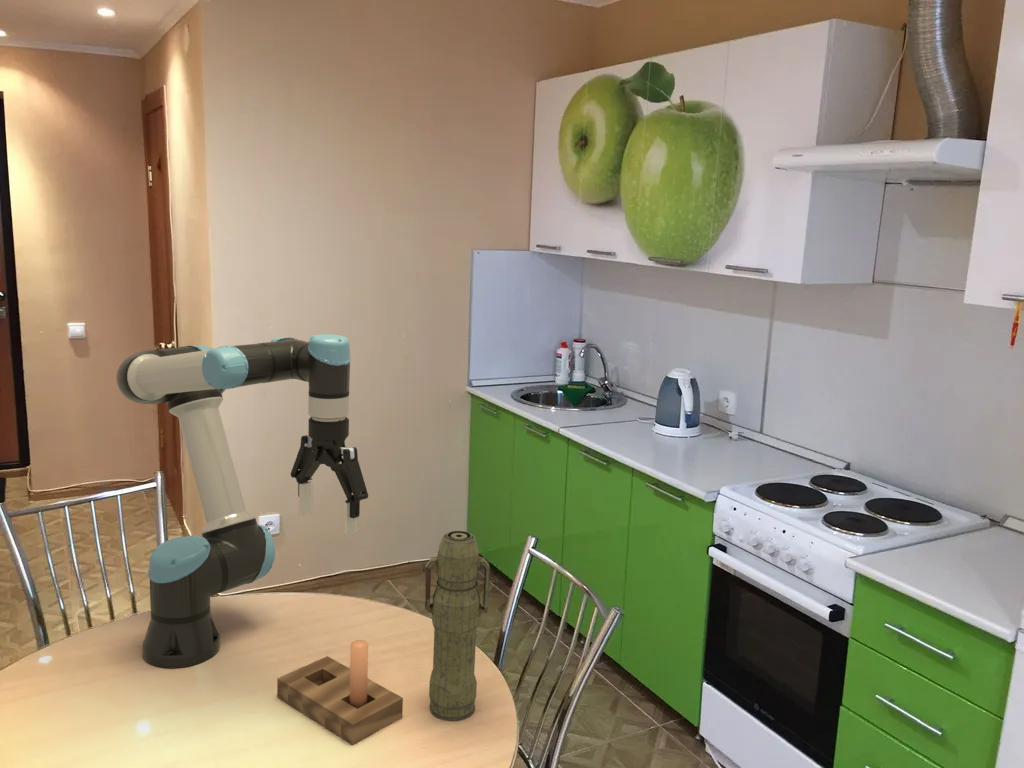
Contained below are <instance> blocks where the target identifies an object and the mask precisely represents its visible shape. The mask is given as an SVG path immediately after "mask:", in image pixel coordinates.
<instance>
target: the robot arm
mask: <svg viewBox="0 0 1024 768" xmlns="http://www.w3.org/2000/svg"><path fill="white" fill-rule="evenodd" d="M350 346H351V345H350V341H349V339H348V338H347V337H346V336H344V335H340V334H332V333H322V334H321V333H320V334H314V335H311V336H310V338H309V339H308V341H305V340H302V339H301V340H300V339H298V338H295V337H290V336H289V337H282V336H279V337H276V338H273V339H272V340H271V341H268V342H261V343H258V342H257V343H252V344H251V343H250V344H241V345H240V344H238V345H224V346H218V347H216V348H215V347H214V348H211V347H210V346H208V345H193V344H192V345H191V344H190V345H186V346H179V347H178V346H176V347H168V348H159V349H148V350H142V351H139V352H135V353H133V354H131V355H129V356H127V357H126V358H125V359H124V360H123V361H122V362H121V363H120V365H119V366H118V368H117V371H116V386H117V387H118V390H119V391H120V393H121V395H123V396H124V397H125V398H126V399H128V400H129V401H131V402H134V403H135V404H141V405H142V404H143V405H157V404H163V403H166V404H167V405H166V406H167V408H168V412H169V414H171V415H173V416H174V417H177V419H178V421H179V425H180V429H181V433H182V437H183V440H184V443H185V448H186V452H187V455H188V459H189V463H190V467H191V469H192V474H193V477H194V478H193V479H194V480H195V481H194V482H195V485H196V488H197V493H198V496H199V500H200V503H201V507H202V511H203V516H204V518H205V522H206V523H205V526H204V527H203V529H202V531H201V535H194V534H193V535H187V536H177V537H174V538H171V539H168V540H165V541H164V542H162V543H160V544H159V545H157V546H156V547H155V548H154V549H153V550H152V552H151V554H150V556H149V565H148V571H147V573H148V578H149V599H150V600H149V601H150V605H149V606H150V621H149V624H148V626H147V631H146V632H145V637H144V640H143V642H142V657H143V659H144V661H146V662H147V664H148V663H149V664H150V665H152V666H155V667H160V668H166V669H168V668H170V669H172V668H173V669H174V668H175V669H176V668H186V667H190V666H194V665H198V664H200V663H203V662H205V661H208V660H210V659H211V658H212V657H214V656H215V655H216V654H217V653H218V651H220V647H221V646H220V645H221V644H220V643H221V641H220V632H219V631H218V628H217V625H216V623H215V620H214V618H213V615H212V612H211V597H212V596H215V595H217V594H222V593H224V592H226V591H229V590H232V589H235V588H236V589H237V588H239V587H241V586H244V585H249V584H252V583H254V582H255V581H257V580H259V579H263V578H264V577H266V575H268V574H269V573H270V572H271V570H272V568H273V564H274V562H275V557H276V547H275V546H276V545H275V541H274V538H273V535H272V533H271V532H270V531H269V529H268V528H267V527H266V526H265V525H263V524H258V522H257V518H256V516H254V515H253V514H251V513H248V511H247V509H246V506H245V502H244V499H243V494H242V490H241V487H240V483H239V480H238V476H237V475H238V474H237V473H236V468H235V465H234V462H233V457H232V455H231V450H230V447H229V446H230V445H229V443H228V439H227V436H226V431H225V428H224V424H223V419H222V417H221V414H220V410H219V408H220V406H221V403H222V402H223V400H224V397H223V393H224V392H225V391H226V390H230V389H235V388H240V387H246V386H253V385H260V384H266V383H267V384H269V383H274V382H281V381H286V380H287V381H288V380H299V381H303V382H307V383H308V402H307V403H308V405H307V406H308V408H307V414H308V416H309V418H308V427H307V428H308V432H307V433H308V434H306V435H302V436H301V437H300V446H299V449H298V452H297V455H296V458H295V460H294V464H293V466H292V469H291V471H290V477H291V478H294V479H295V480H296V483H298V484H297V485H298V486H297V487H298V488H297V489H298V490H297V492H298V493H297V494H298V509H299V510H298V517H299V516H300V517H305V516H309V515H311V514H313V512H314V511H313V509H314V507H313V506H314V501H313V500H314V496H313V495H314V493H313V492H314V484H313V483H314V482H313V481H312V480H313V478H312V477H313V476H314V474H315V473H316V471H317V470H318V469H319V467H320V465H325V466H327V468H328V467H329V468H330V470H331V471H332V472H333V473H335V476H336V478H337V480H338V482H339V483H340V486H341V489H342V490H343V493H344V495H345V496H346V497H345V498H346V500H344V506H343V507H344V511H343V524H344V525H343V534H344V535H346V536H348V535H351V534H354V533H357V532H358V531H359V517H360V511H361V510H360V507H361V501H363V500H366V499H368V498H369V493H368V490H367V487H366V483H365V479H364V475H363V473H362V469H361V466H360V462H359V458H358V449H357V446H356V447H355V446H353V447H347V446H346V439H347V438H348V437H349V435H350V432H349V431H350V419H349V417H348V416H349V415H350V379H351V378H350V376H351V375H350V374H351V359H352V357H351V352H350V351H351V350H350V349H351V348H350Z"/></svg>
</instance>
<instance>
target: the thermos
mask: <svg viewBox="0 0 1024 768" xmlns="http://www.w3.org/2000/svg"><path fill="white" fill-rule="evenodd" d="M438 546H439V549H438V551H437V556H435V557H431V558H430V559H429V560H428V562H427V563H426V564H425V568H424V569H425V574H424V575H425V578H424V579H425V581H424V582H425V585H424V586H425V587H424V588H425V589H424V590H425V595H424V597H425V598H424V599H425V600H424V609H425V610H426V611H427V612H428V613H431V622H432V625H433V629H434V630H433V631H434V632H433V633H434V634H433V655H432V657H433V658H432V659H433V660H432V662H433V663H432V664H433V665H432V670H431V674H430V677H429V686H428V688H429V690H428V691H429V693H428V696H429V700H430V701H429V712H430V713H431V714H432V715H433V716H434V717H435V718H437V719H439V720H443V721H449V722H457V721H462V720H466V719H467V718H469V717H471V716H472V715H473V714H474V713H475V709H476V705H475V704H476V703H475V701H476V698H477V687H478V686H477V685H478V683H477V679H476V675H475V669H476V668H475V667H476V665H475V663H476V646H477V645H476V644H477V642H476V641H477V639H476V638H477V629H478V627H479V625H480V617H481V616H482V614H487V613H488V608H489V599H490V598H489V597H490V596H489V595H490V577H491V576H490V575H491V567H490V564H489V563H488V561H487V559H486V558H484V557H483V558H482V557H481V556H480V550H479V545H478V542H477V539H476V536H475V535H474V534H473V533H470V532H468V531H464V530H453V531H452V530H451V531H449V532H447V533H444V534H443V536H442V537H441V541H440V543H439V545H438ZM434 565H436V566H437V567H436V568H437V569H436V574H437V581H436V588H435V590H434V592H433V594H432V603H431V586H432V585H431V581H432V579H431V578H432V569H433V566H434ZM482 566H483V567H484V580H483V581H484V582H483V602H482V603H481V595H480V593H479V588H478V587H479V586H478V577H479V568H481V567H482ZM482 604H483V606H482Z"/></svg>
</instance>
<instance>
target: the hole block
mask: <svg viewBox="0 0 1024 768" xmlns="http://www.w3.org/2000/svg"><path fill="white" fill-rule="evenodd" d="M276 681H277V684H276V685H277V692H276V693H277V696H276V697H277V698H278V699H279V700H281V701H283V702H284V703H285V704H287V705H289V706H290V707H292V708H293V709H294V710H296V711H298V712H300V713H301V714H302V715H304V716H306V717H308V718H309V719H311V720H312V721H314V722H316V723H317V724H319V725H320V726H322V727H324V729H327V730H328V731H330V732H331V733H333V734H335V735H336V736H338V737H339V738H341V739H342V740H344V741H345V742H347V743H349V744H350V745H352V746H353V745H356V744H357V743H359V742H360V741H363V740H364V739H366V738H368V737H370V736H371V735H373V734H375V733H377V732H379V731H381V730H383V729H384V728H386V727H388V726H389V725H392V724H393V723H395V722H397V721H398V720H400V719H402V718H403V713H404V712H403V711H404V710H403V709H404V708H403V705H404V697H402V696H401V695H399V694H397V693H396V692H395V693H394V692H393V691H391V690H389V689H387V688H386V687H384V686H382V685H380V684H379V683H376V682H375V681H374V680H372V679H369V678H368V682H367V704H366V705H364V706H362V707H360V708H358V709H357V708H355V707H353V706H352V705H350V667H348V666H346V665H344V664H342V663H341V662H339V661H337V660H335V659H334V658H332V657H330V656H328V655H326V656H324V657H322V658H319V659H317V660H315V661H313V662H311V663H309V664H306V665H304V666H302V667H300V668H298V669H295V670H293V671H291V672H288V673H286V674H283V675H282V676H280V677H277V679H276Z"/></svg>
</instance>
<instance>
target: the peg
mask: <svg viewBox="0 0 1024 768" xmlns="http://www.w3.org/2000/svg"><path fill="white" fill-rule="evenodd" d="M349 651H350V655H349V656H350V659H349V661H350V662H349V668H350V705H352V706H353V707H355V708H357V709H358V708H360V707H362V706H364V705H366V704H367V682H368V679H369V678H368V677H369V676H368V675H369V671H368V670H369V642H368V641H366V640H363V639H357V640H354V641H351V642H350V650H349Z"/></svg>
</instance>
